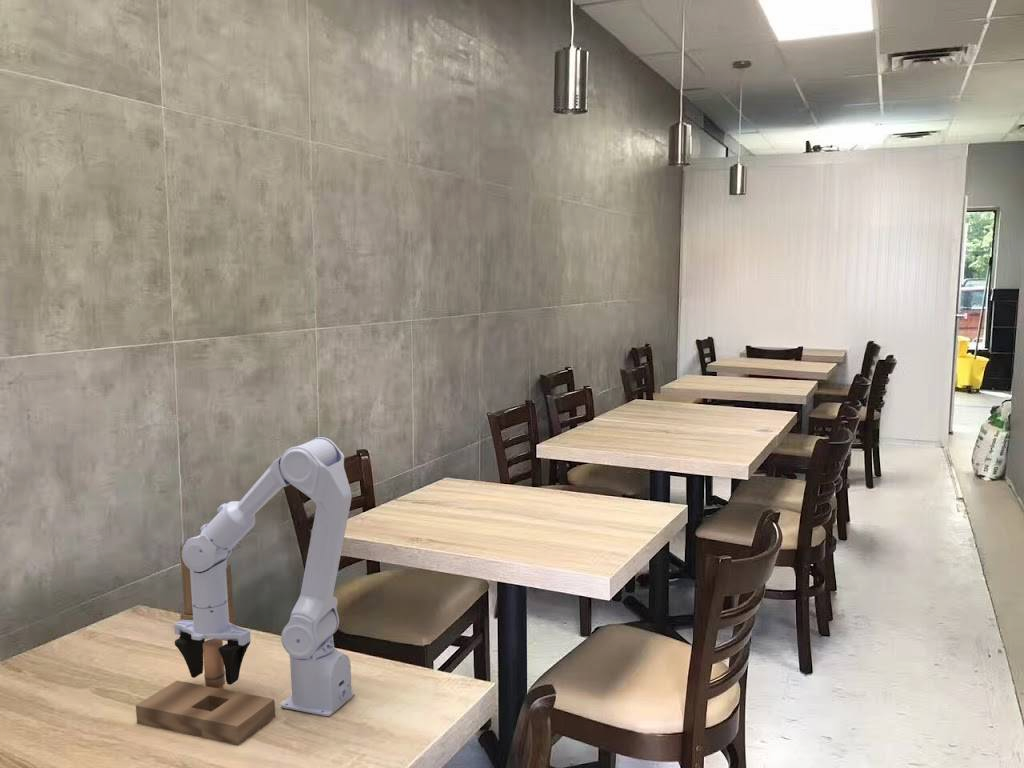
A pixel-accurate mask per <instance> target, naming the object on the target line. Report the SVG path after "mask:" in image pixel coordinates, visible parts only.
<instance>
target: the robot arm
mask: <svg viewBox="0 0 1024 768" xmlns="http://www.w3.org/2000/svg"><path fill="white" fill-rule="evenodd" d="M290 485H292V486H293V487H294V488H296V489H297V490H299V491H300V492H302V493H303V494H304V495H306V496H307V497H308V498H309V499H311V501H312V502H313V503H314V504H315V508H316V509H315V512H314V518H313V524H312V529H311V535H310V540H309V546H308V551H307V556H306V562H305V566H304V567H305V568H304V571H303V572H304V573H303V578H302V584H301V590H300V594H299V597H298V599H297V601H296V603H295V604H294V607H293V609H292V611H291V612H290V613H291V614H290V618H289V621H288V622H287V624H286V625H285V626H284V628H283V629H282V631H281V635H280V637H281V638H280V641H281V644H282V645H281V646H282V647H283V649H284V651H285V652H286V653H287V654H288V655H289V663H290V666H289V667H290V683H291V684H290V687H291V696H290V697H288V699H286V700H285V701H284V702H282V703H281V704H280V707H281V708H283V709H288V710H293V711H298V712H303V713H308V714H309V713H310V714H313V715H318V716H324V717H330V716H331V715H332V714H334V713H335V712H336V711H337V710H339V709H340V707H342V706H343V705H344V704H345V703H347V702H348V701H349V700H350V699H352V698H353V696H355V692H354V691H353V689H352V665H351V660H350V657H349V656H348V655H347V654H345V653H342V652H341V651H339V650H338V649H336V647H335V643H334V642H335V641H334V634H335V633H336V632H337V630H338V628H339V626H340V617H339V614H338V608H337V607H338V602H339V599H338V598H336V597H335V596H334V594H335V593H334V592H335V588H336V587H335V586H336V581H337V577H338V571H339V565H340V561H341V555H342V550H343V545H344V540H345V534H346V529H347V524H348V520H349V519H348V518H349V515H350V508H351V504H352V498H353V497H352V491H351V486H350V483H349V479H348V477H347V473H346V469H345V455H344V453H343V452H342V451H341V449H339V447H338V445H336V444H335V442H334V441H332V440H331V439H330V438H327V437H325V436H324V437H322V436H319V437H314V438H312V439H311V440H309V441H307V442H305V443H303V444H300V445H298V446H297V445H296V446H292V447H290V448H288V449H286V451H284V452H283V454H282V455H281V456H280V457H278V458H276V459H275V460H274V461H273V462H272V463H271V465H269V467H268V468H267V469H266V470H265V471H264V473H262V475H261V476H260V477H259V478H258V480H257V481H256V482H255V483H254V484H253V485H252V486H251V487H250V489H249V490H248V491H247V492H246V493H245V495H244V496H243V497H242V499H240V501H239V500H238V501H237V500H233V501H229V502H227V503H226V502H224V503H223V504H220V506H218V507H217V509H216V511H217V514H216V515H215V516H214V517H213V518H212V519H211V520H210V521H209V523H205V524H203V525H202V526H201V527H200V534H199V535H197V536H194V537H193V536H192V537H190V538H188V539H186V542H185V543H186V544H185V545H184V546H183V549H182V559H183V562H184V564H185V565H186V566H187V567H188V568H189V569H190V578H191V594H192V608H193V620H180V621H177V622H174V624H173V626H174V635H175V636H179V637H178V638H177V639H175V641H174V646H175V647H176V649H177V650H179V652H180V653H181V655H182V657H183V658H184V661H185V663H186V666H187V668H188V671H189V674H190V676H191V678H193V679H196V677H198V676H200V675H202V674H203V672H204V656H203V643H204V642H205V641H206V640H210V639H217V640H222V641H225V642H227V643H224V644H223V646H222V647H220V648H219V652H220V654H221V656H222V659H223V662H224V671H225V683H226V684H227V685H229V686H230V685H233V684H234V683H236V682H237V681H238V680H239V677H240V671H241V667H242V662H243V660H244V657H245V655H246V652H247V650H248V647H249V646H250V644H251V642H252V641H251V640H252V639H251V630H249V629H245V628H242V627H240V626H238V625H235V623H234V624H232V623H229V612H228V595H227V578H226V568H227V565H228V564H227V562H228V559H229V558H230V556H231V554H232V551H233V549H234V548H235V546H236V545H237V544H238V543H239V542H240V541H241V540H242V539H243V538H244V537H245V536H246V535H247V534H248V533H249V532H250V531H251V530H252V528H253V527H255V525H256V513H258V511H260V510H261V509H262V508H263V507H264V506H265V505H266V504H267V503H268V502H269V501H270V500H271V499H272V498H273V497H275V495H277V493H279V492H280V490H282V488H284V487H285V488H286V487H288V486H290Z"/></svg>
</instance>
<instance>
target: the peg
mask: <svg viewBox="0 0 1024 768" xmlns="http://www.w3.org/2000/svg"><path fill="white" fill-rule="evenodd" d="M223 645H224V644H223V640H217V639H206V640H205V641H204V643H203V672H204V686H208V687H213V688H219V689H224V686H225V685H226V676H225V666H224V662H223V659H222V656H221V654H220V652H219V648H220V647H222V646H223ZM224 690H225V689H224Z"/></svg>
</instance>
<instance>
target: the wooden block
mask: <svg viewBox="0 0 1024 768" xmlns="http://www.w3.org/2000/svg"><path fill="white" fill-rule="evenodd" d="M185 544H186V542H183V543H181V544H180V546H179V550H180V551H179V552H180V567H181V582H182V596H183V599H182V600H183V611H184V612H183V613H180V616H179V617H180V621H181V620H193V608H192V594H191V578H190V569H189V568H188V567H187V566H186V565H185V564H184V562H183V559H182V549H183V546H184V545H185ZM226 578H227V595H228V612H229V623H232V624H234V625H235V613H234V598H233V596H234V593H233V580H232V564H231V563H229V564H227V568H226Z"/></svg>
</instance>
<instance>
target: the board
mask: <svg viewBox="0 0 1024 768" xmlns="http://www.w3.org/2000/svg"><path fill="white" fill-rule="evenodd" d="M275 704H276V701H275V698H270V697H267V696H266V697H265V696H260V695H257V694H256V695H255V694H249V693H245V692H244V693H243V692H240V691H233V690H229V689H219V688H213V687H208V686H205V685H202V684H196V683H193V682H192V683H191V682H186V681H181V680H175V681H174V682H172V683H170V684H168V685H167V686H165V687H164V688H163V689H160V690H159V691H157V692H156V693H154V694H152V695H151V696H148V698H146V699H144V700H143V701H140V702H139V703H137V704H136V705H135V713H136V715H135V716H136V724H139V725H142V726H143V725H144V726H150V727H153V728H158V729H162V730H167V731H172V732H175V733H182V734H185V735H190V736H194V737H198V738H202V739H203V738H204V739H208V740H213V741H218V742H222V743H227V744H232V745H235V746H239V745H241V744H242V743H244V742H245V741H246V740H247V739H249V738H250V737H251V736H252V735H254V734H255V733H256V732H257V731H259V730H260V729H262V728H263V727H265V725H266V724H269V722H270V721H272V720H274V718H276V705H275Z"/></svg>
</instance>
